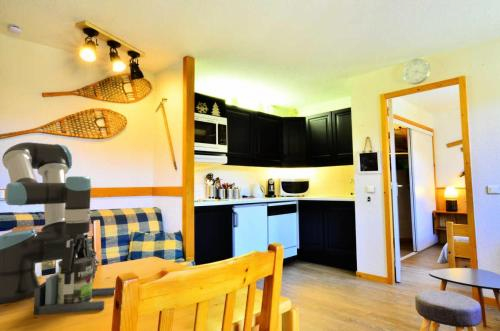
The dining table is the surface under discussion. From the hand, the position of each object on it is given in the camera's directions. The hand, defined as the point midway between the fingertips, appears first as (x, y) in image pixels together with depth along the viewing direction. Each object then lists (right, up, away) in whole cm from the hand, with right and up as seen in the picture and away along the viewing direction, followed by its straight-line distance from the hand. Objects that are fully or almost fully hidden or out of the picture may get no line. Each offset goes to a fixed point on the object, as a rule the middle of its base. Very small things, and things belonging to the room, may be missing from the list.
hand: (75, 288), depth 100 cm
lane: (+1, -5, 0) cm, 5 cm away
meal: (-12, -8, +28) cm, 31 cm away
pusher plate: (-6, -5, -1) cm, 8 cm away
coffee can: (0, -5, 0) cm, 5 cm away
